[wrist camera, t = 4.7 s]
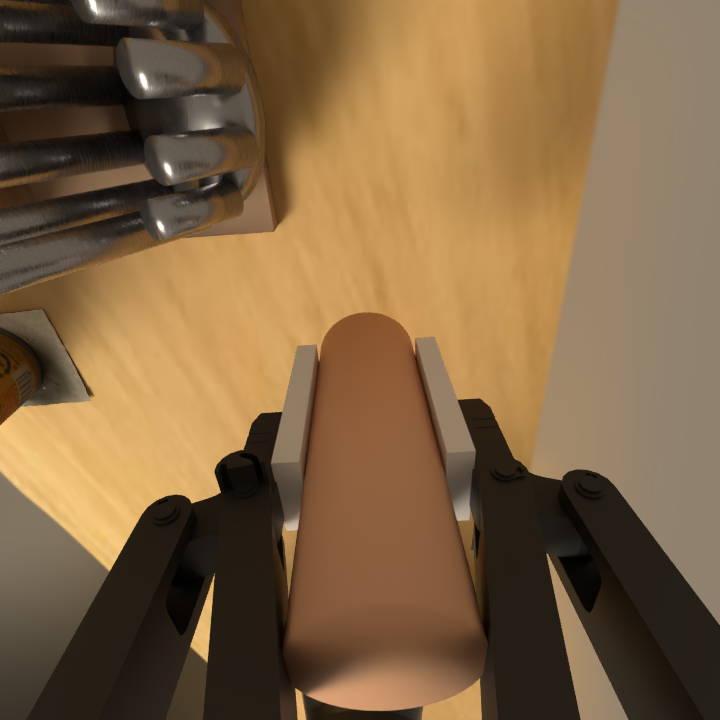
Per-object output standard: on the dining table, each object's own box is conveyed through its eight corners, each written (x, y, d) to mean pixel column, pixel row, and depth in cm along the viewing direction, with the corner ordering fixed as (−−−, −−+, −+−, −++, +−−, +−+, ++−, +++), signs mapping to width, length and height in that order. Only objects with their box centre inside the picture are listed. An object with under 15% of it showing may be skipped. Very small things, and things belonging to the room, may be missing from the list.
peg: (412, 389, 20) (481, 705, 9) (325, 395, 20) (296, 715, 9) (412, 309, 18) (500, 598, 7) (315, 315, 18) (263, 611, 7)
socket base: (277, 226, 25) (248, 274, 18) (10, 244, 25) (-116, 299, 19) (231, -51, 19) (161, -136, 12) (-122, -21, 19) (-384, -85, 12)
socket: (295, 209, 25) (234, 323, 12) (28, 227, 25) (-296, 357, 13) (262, -27, 19) (93, -253, 7) (-77, 2, 20) (-824, -161, 7)
